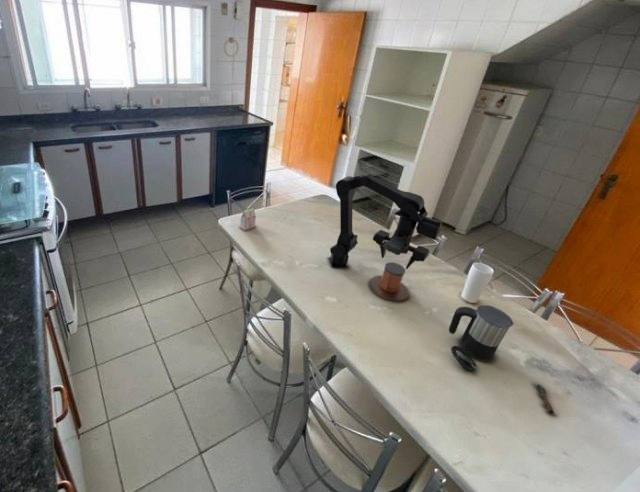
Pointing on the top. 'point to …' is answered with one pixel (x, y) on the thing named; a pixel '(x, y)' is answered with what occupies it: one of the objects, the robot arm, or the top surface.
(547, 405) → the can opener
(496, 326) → the milk frother
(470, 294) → the drinking glass
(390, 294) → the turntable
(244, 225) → the milk carton
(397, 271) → the orange mug
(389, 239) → the robot arm
